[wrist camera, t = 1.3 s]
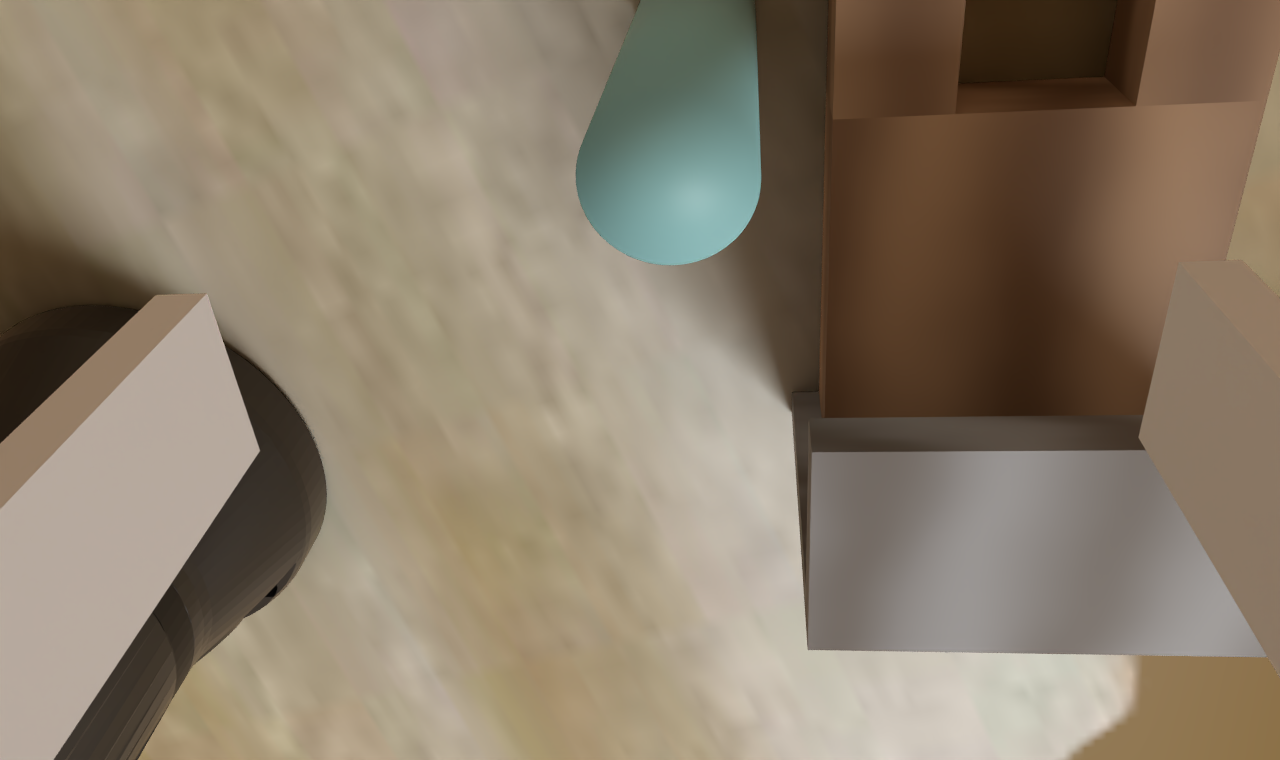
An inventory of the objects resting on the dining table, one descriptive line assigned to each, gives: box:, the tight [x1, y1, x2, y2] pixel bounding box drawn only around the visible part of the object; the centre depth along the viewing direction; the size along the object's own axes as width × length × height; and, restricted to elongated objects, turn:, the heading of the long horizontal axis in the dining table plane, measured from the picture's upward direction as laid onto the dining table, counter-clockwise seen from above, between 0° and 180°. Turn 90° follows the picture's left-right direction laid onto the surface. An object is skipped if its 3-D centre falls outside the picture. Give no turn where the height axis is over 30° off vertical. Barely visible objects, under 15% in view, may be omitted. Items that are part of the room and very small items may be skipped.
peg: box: [576, 0, 761, 265], centre depth 25 cm, size 4×4×14 cm
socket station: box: [792, 0, 1280, 657], centre depth 28 cm, size 14×20×12 cm
